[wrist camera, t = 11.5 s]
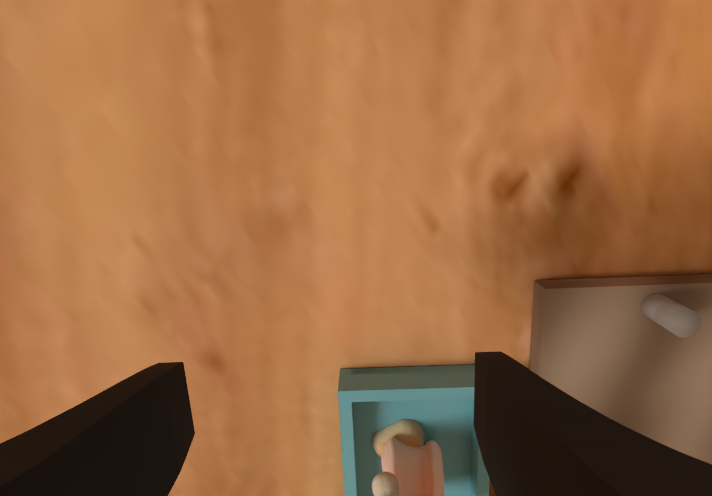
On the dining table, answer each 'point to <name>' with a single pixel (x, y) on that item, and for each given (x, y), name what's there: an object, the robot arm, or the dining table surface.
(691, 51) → the dining table surface
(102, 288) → the dining table surface
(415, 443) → the grandmother figurine
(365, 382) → the tray
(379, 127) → the dining table surface
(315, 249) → the dining table surface
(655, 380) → the board
